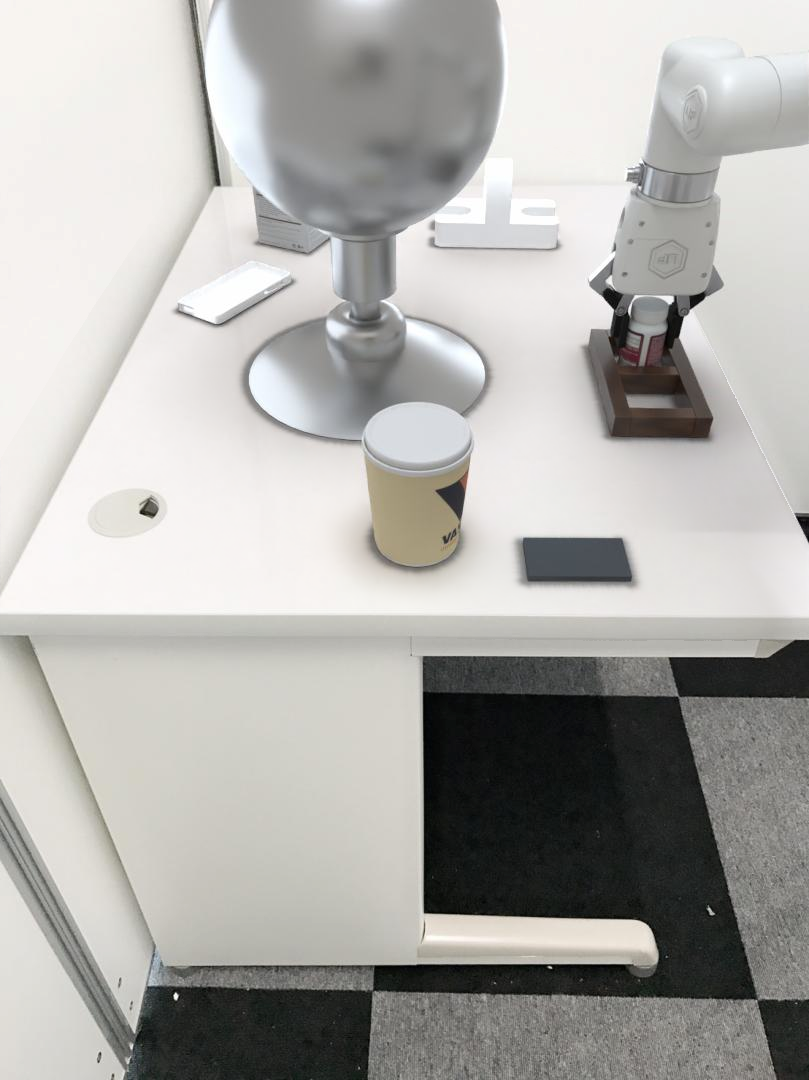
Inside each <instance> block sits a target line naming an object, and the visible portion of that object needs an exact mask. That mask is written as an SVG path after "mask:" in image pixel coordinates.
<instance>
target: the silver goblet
mask: <svg viewBox="0 0 809 1080" xmlns="http://www.w3.org/2000/svg"><path fill="white" fill-rule="evenodd" d="M208 15H209V16H208V20H207V26H206V32H205V40H204V75H205V83H206V91H207V97H208V101H209V106H210V109H211V112H212V116H213V119H214V123H215V125H216V128H217V131H218V133H219V135H220V138H221V139H222V142H223V144H224V146H225V148H226V150H227V152H228V153H229V156H230V157H231V158H232V160H233V162H234V164H235V165H236V167H237V168H238V170H239V171H240V172H241V173H242V175H243V176H244V177H245V179H246V180H247V181H248V183H250V184H251V186H252V185H253V187H254V188H255V189H256V190H257V191H258V192H259V193H260V194H261V195H262V196H264V197H265V198H266V199H267V200H268V201H269V202H270V203H272V204H273V205H274V206H276V207H277V208H278V209H280V210H281V211H283V212H284V213H286V214H287V215H289V216H291V217H292V218H294V219H296V220H298V221H300V222H302V223H304V224H307V225H309V226H312V227H314V228H316V229H318V230H319V231H320V232H322V233H324V234H326V235H328V236H330V238H329V247H330V262H331V280H332V292H333V294H334V295H335V296H336V297H338V298H339V299H341V300H344V301H342V302H341V303H339V304H337V305H336V306H335V307H333V309H332V310H330V312H328V314H327V316H326V319H322V320H318V321H314V322H311V323H308V324H304V325H302V326H299V327H296V328H294V329H292V330H289V331H288V332H285V333H283V334H281V335H280V336H279V337H277V338H276V339H273V340H272V341H271V342H270V343H268V344H267V345H266V346H264V348H263V349H262V350H261V351H260V352H259V353H258V355H257V356H256V357H255V359H254V360H253V362H252V364H251V367H250V368H249V374H248V386H249V389H250V392H251V394H252V396H253V399H254V400H255V401H256V403H257V404H258V405H259V407H260V408H262V410H263V411H265V412H266V413H267V414H268V415H270V416H271V417H273V418H274V419H275V420H277V421H279V422H281V423H283V424H285V425H287V426H288V427H291V428H293V429H296V430H299V431H302V432H304V433H309V434H311V435H316V436H320V437H325V438H331V439H340V440H349V441H362V434H363V431H364V429H365V428H366V426H367V424H368V422H369V420H370V419H371V418H372V417H373V416H374V415H375V414H377V413H378V412H380V411H381V410H383V409H385V408H388V407H390V406H393V405H397V404H401V403H409V402H426V403H433V404H438V405H441V406H445V407H447V408H450V409H452V410H454V411H455V412H457V413H458V414H460V415H462V414H463V413H464V412H465V411H467V410H468V409H469V408H470V407H472V405H473V404H474V403H475V401H476V400H478V398H479V396H480V394H481V393H482V391H483V388H484V385H485V382H486V370H485V365H484V363H483V360H482V358H481V357H480V355H479V354H478V352H477V351H476V350H475V348H473V347H472V345H471V344H470V343H468V341H466V340H465V339H464V338H462V337H460V336H459V335H457V334H455V333H454V332H452V331H450V330H448V329H445V328H443V327H441V326H438V325H436V324H433V323H429V322H426V321H423V320H419V319H416V318H409V317H405V314H404V313H403V311H402V310H401V309H400V308H399V307H397V306H396V305H395V304H393V303H392V302H391V301H388V300H387V299H389V298H390V297H392V296H393V295H394V294H395V293H396V291H397V235H399V234H400V233H403V232H404V231H406V230H407V229H408V228H409V227H411V226H413V225H415V224H418V223H420V222H422V221H424V220H425V219H428V218H429V217H431V216H433V215H434V214H435V213H436V212H437V211H438V210H440V209H441V208H442V207H444V206H445V205H446V204H447V203H449V202H450V201H451V200H452V199H453V198H456V197H457V196H458V195H459V194H460V192H462V191H463V190H464V188H465V187H466V186H467V185H468V184H469V182H470V181H471V180H472V179H473V177H474V176H475V175H476V174H477V172H478V170H479V169H480V167H481V165H482V164H483V162H484V160H486V157H487V155H488V153H489V152H490V149H491V147H492V146H493V142H494V140H495V137H496V136H497V133H498V129H499V126H500V123H501V119H502V116H503V112H504V108H505V103H506V96H507V89H508V78H509V77H508V75H509V59H508V57H509V56H508V46H507V45H508V44H507V38H506V37H507V36H506V32H505V27H504V22H503V17H502V14H501V11H500V8H499V3H498V2H497V0H213V1H212V4H211V7H210V11H209V14H208ZM253 187H252V188H253Z"/></svg>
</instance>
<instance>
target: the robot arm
mask: <svg viewBox="0 0 809 1080" xmlns="http://www.w3.org/2000/svg"><path fill="white" fill-rule="evenodd" d="M653 90H654V91H653V96H652V102H651V107H650V113H649V117H648V118H649V119H648V124H647V130H646V136H645V142H644V148H643V152H642V156H641V157H639V158H640V159H639V162H638V163H637V165H634V166H633V167H626V168H625V170H624V182H627V183H631V184H635V186H632V187H631V189H629V193H628V195H627V198H626V200H625V202H624V205H623V209H622V211H621V214H620V217H619V220H618V225H617V227H616V231H615V235H614V239H613V244H612V246H611V247H612V248H611V252H610V254H609V255H608V257H606V259H604V260H603V262H601V264H599V265H598V267H597V268H596V269H595V270H593V272H592V273H591V274H590V275H589V276H588V278H587V282H588V286H589V287H590V289H592V290H593V291H594V292H595V293H597V294H598V295H599V296H600V297H602V298H603V300H604V301H605V302H606V303H607V305H608V306H610V307H611V309H612V310H613V313H612V319H611V324H610V334H611V337H612V338H615V341H616V344H617V348H623V347H625V342H626V337H627V332H628V327H629V322H630V316H629V315H630V313H629V308H630V307H631V305H632V302H633V301H634V298H635V296H652V297H657V296H658V297H659V296H660V297H662V296H665V297H667V296H668V297H669V296H670V297H672V302H671V303H668V304H669V310H668V316H667V318H666V320H667V323H668V329H667V333H666V338H665V342H664V345H665V347H666V348H667V349H672V348H673V345H674V340H675V338H680V335H681V331H682V328H683V323H684V319H685V317H687V316H689V315H690V312H691V310H692V309H694V308H695V307H697V306H698V305H699V304H701V303H702V302H703V301H704V300H705V299H706V297H710V296H712V295H713V294H715V293H716V292H718V291H720V290H721V289H723V288H724V286H725V283H724V281H723V279H722V278H721V276H720V273H719V272H718V270H717V268H716V267H715V265H714V262H715V261H714V260H715V256H716V250H717V243H718V241H717V240H718V236H719V229H720V228H719V227H720V218H721V197H720V196H719V195H718V194H717V193H716V192H715V189H716V188H715V187H716V183H717V180H718V176H719V171H720V167H721V163H722V160H723V157H731V156H735V155H744V154H751V153H755V152H762V151H771V150H778V149H779V150H780V149H786V148H795V147H801V146H805V145H809V50H808V51H796V52H794V51H793V52H783V53H775V54H774V53H773V54H765V55H764V54H763V55H755V56H749V57H746V56H745V52H744V50H743V47H742V46H741V45H740V44H739V43H737V42H736V41H733V40H731V39H728V38H725V37H719V36H712V35H687V36H681V37H679V38H675V39H673V40H671V41H670V42H668V44H667V45H666V46H665V47H664V48H663V51H662V53H661V55H660V58H659V63H658V69H657V74H656V79H655V86H654V89H653ZM610 277H611V283H612V285H611V284H609V283H608V282H607V280H608V279H609V278H610Z"/></svg>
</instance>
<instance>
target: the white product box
mask: <svg viewBox="0 0 809 1080" xmlns="http://www.w3.org/2000/svg"><path fill="white" fill-rule="evenodd" d="M251 186H252V187H251V188H252V194H253V195H252V196H253V203H254V210H255V219H256V227H257V233H258V243H260V244H265V245H269V246H272V247H278V248H282V249H286V250H292V251H297V252H301V253H306V254H310V253H311V252H313V251H314V250H315V249H316V248H318V247H319V246H321V245H322V244H324V243H325V242H326V241H327V240H329V239H330V236H328V235H326V234H324V233H322V232H320V231H319V230H318V229H316V228H314V227H312V226H309V225H307V224H304V223H302V222H300V221H298V220H296V219H294V218H292V217H291V216H289V215H287V214H286V213H284V212H283V211H281V210H280V209H278V208H277V207H276V206H274V205H273V204H272V203H270V202H269V201H268V200H267V199H266V198H265V197H264V196H262V195H261V194H260V193H259V192H258V191H257V190H256V189H255V188H254V187H253V185H252V184H251Z"/></svg>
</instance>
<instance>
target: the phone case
mask: <svg viewBox="0 0 809 1080" xmlns="http://www.w3.org/2000/svg"><path fill="white" fill-rule="evenodd" d="M291 282H292V273H291V272H290V271H289V270H285V269H282V268H279V267H276V266H273V265H270V264H266V263H263V262H260V261H257V260H250V261H248V262H246V263H244V264H241V265H240V266H238V267H236V268H234V269H233V270H230V271H229V272H227V273H225V274H223V275H221V276H219V277H217V278H216V279H214V280H212V281H210V282H208V283H206V284H205V285H203V286H201V287H199V288H197V289H195V290H193V291H192V292H189V293H188V294H186V295H184V296H182V297H180V298H179V299H177V307H178V312H179V311H180V312H181V313H184V314H187V315H190V316H193V317H195V318H198V319H201V320H203V321H206V322H209V323H211V324H215V325H220V324H223V323H225V322H226V321H228V320H229V319H231V318H233V317H235V316H236V315H238V314H240V313H241V312H244V311H245V310H247V309H249V308H251V307H252V306H253V305H255V304H257V303H259V302H260V301H263V300H264V299H266V298H267V297H269V296H271V295H272V294H274V293H276V292H278V291H279V290H281V289H282V288H284V287H286V286H288V285H289V284H291ZM280 283H281V284H280ZM272 288H273V289H272ZM270 289H271V290H270Z"/></svg>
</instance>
